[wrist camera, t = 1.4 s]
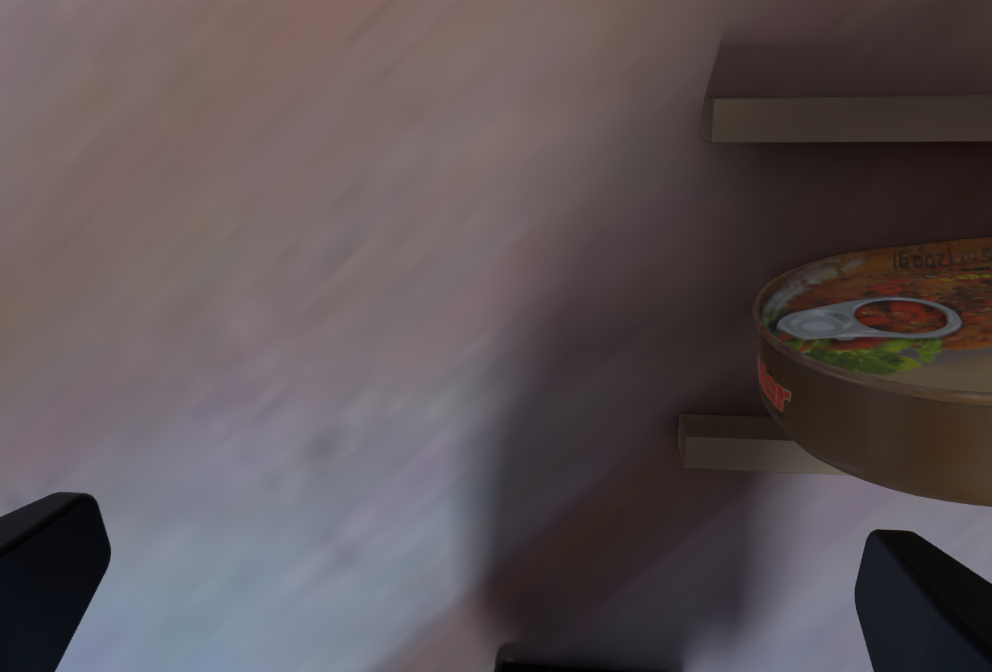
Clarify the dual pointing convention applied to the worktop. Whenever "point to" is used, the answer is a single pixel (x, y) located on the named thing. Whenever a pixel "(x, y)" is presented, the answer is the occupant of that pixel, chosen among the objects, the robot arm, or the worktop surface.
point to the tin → (887, 365)
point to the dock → (812, 121)
